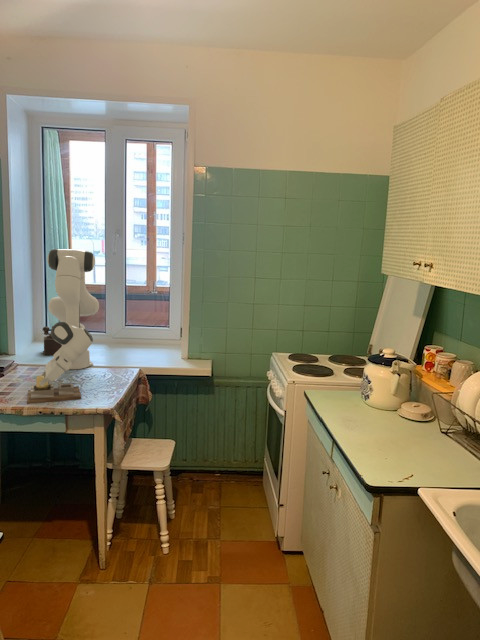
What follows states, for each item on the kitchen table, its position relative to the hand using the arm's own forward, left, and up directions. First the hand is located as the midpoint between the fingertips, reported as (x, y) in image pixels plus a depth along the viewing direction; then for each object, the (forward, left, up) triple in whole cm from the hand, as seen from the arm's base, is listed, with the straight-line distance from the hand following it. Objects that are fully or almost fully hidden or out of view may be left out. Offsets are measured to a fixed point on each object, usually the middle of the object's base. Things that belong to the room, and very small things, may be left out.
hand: (40, 381), depth 215 cm
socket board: (0, +6, -7) cm, 9 cm away
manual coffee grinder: (-79, +7, -7) cm, 80 cm away
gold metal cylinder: (0, +1, -6) cm, 6 cm away
